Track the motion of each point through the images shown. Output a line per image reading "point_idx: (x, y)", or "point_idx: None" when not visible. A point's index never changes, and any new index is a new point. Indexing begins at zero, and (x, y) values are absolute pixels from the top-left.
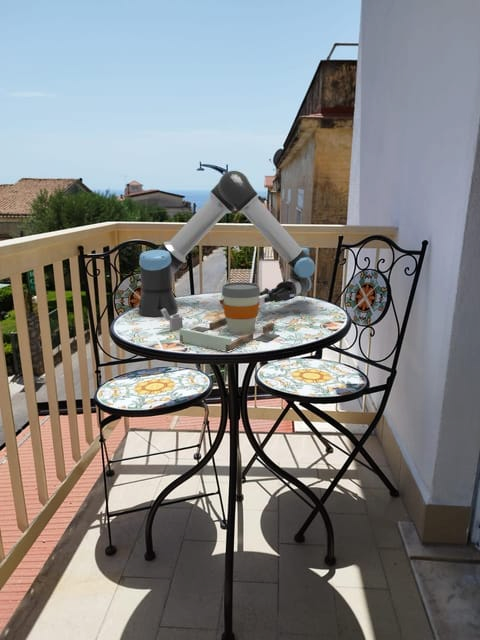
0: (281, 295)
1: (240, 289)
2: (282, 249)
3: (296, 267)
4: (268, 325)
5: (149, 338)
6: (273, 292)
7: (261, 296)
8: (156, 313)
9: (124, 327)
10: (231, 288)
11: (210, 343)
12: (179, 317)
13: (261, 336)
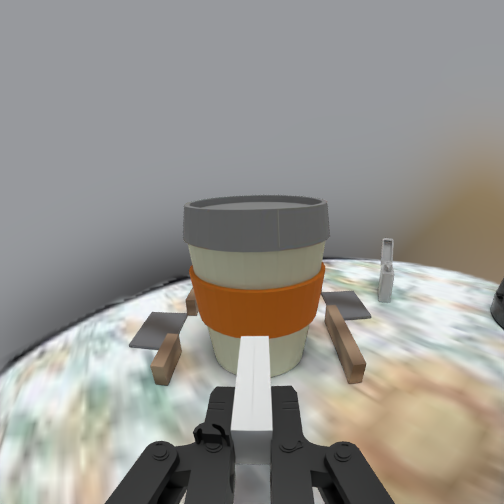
0: (119, 492)
1: (226, 197)
2: None
3: None
4: (163, 343)
5: (363, 270)
6: None
7: (253, 364)
8: (493, 299)
9: (441, 274)
10: (277, 204)
11: None
12: (382, 271)
13: (173, 327)
